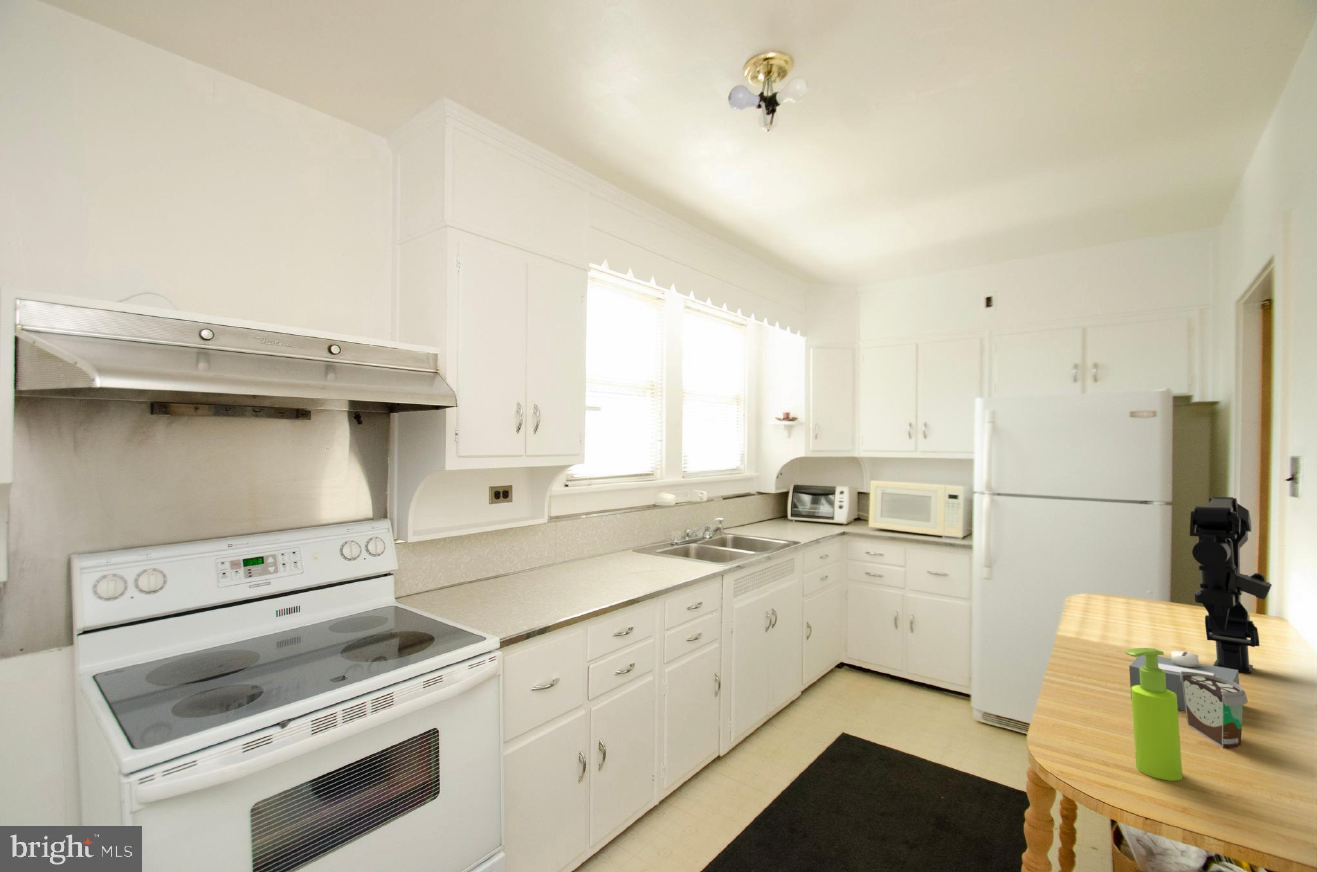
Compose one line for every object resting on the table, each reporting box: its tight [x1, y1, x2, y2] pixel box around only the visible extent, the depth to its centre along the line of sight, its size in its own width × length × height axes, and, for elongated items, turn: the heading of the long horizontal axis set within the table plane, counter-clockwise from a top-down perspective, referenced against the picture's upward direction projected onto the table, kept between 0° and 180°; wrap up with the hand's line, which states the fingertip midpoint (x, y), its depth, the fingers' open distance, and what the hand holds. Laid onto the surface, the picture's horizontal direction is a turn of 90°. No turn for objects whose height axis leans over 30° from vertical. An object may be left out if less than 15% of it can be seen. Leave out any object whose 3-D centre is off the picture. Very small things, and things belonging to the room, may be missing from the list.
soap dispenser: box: [1124, 647, 1183, 782], centre depth 99 cm, size 6×7×20 cm
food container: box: [1180, 671, 1249, 749], centre depth 110 cm, size 12×6×10 cm, turn 168°
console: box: [1128, 655, 1240, 712], centre depth 126 cm, size 12×16×7 cm
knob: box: [1170, 650, 1200, 667], centre depth 129 cm, size 4×4×6 cm
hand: (1221, 630), depth 136 cm, fingers closed
